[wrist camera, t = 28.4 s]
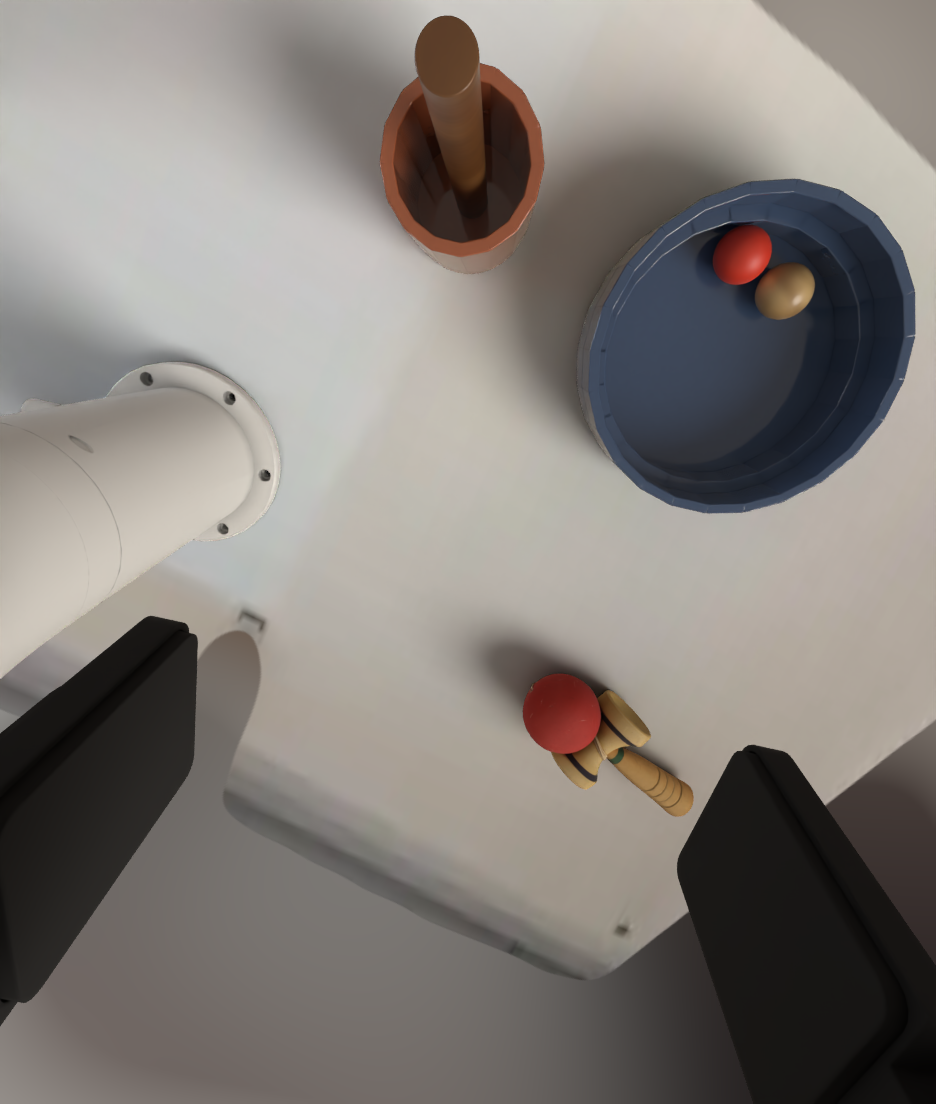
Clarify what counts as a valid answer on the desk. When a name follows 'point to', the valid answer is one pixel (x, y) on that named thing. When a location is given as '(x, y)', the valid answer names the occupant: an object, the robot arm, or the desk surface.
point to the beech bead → (784, 290)
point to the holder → (425, 184)
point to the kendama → (597, 738)
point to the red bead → (742, 254)
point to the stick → (455, 106)
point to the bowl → (746, 350)
